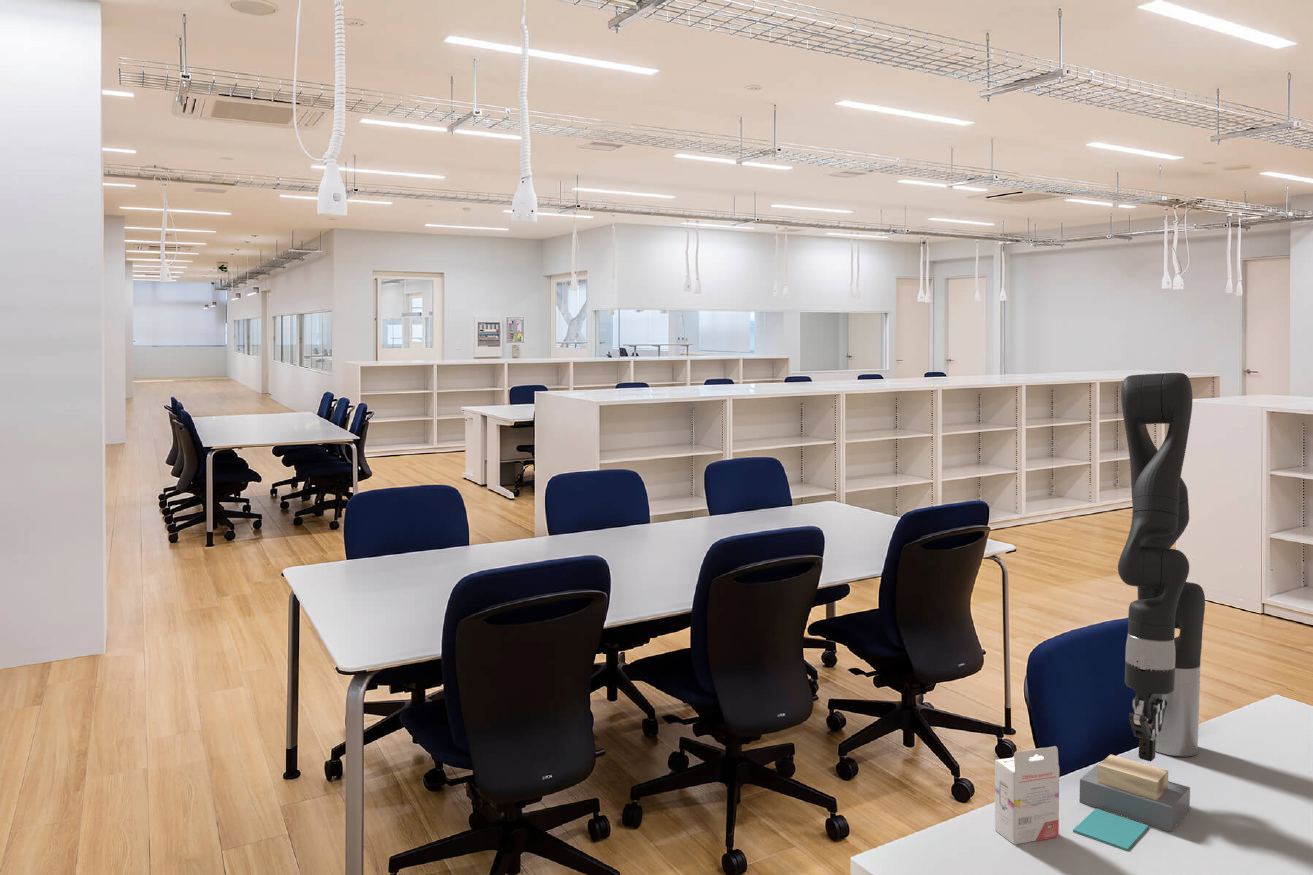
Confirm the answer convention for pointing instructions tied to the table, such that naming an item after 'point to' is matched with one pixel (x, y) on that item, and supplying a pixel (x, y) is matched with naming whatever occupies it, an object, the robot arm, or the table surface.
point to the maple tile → (1133, 776)
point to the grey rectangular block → (1137, 802)
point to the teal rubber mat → (1111, 829)
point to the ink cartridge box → (1027, 795)
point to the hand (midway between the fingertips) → (1146, 758)
